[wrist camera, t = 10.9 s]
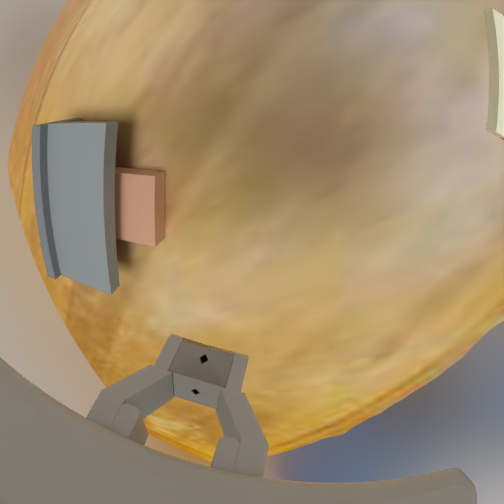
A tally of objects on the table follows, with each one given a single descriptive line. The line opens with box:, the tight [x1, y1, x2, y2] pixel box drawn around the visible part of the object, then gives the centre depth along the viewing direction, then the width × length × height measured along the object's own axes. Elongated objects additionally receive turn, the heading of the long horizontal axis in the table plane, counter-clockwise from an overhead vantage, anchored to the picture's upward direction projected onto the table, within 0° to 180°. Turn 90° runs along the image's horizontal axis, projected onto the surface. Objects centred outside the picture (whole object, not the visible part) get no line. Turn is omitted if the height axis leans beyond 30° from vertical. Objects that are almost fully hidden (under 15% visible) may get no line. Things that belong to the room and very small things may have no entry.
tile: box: [115, 167, 165, 247], centre depth 36 cm, size 10×14×4 cm
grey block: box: [32, 118, 120, 295], centre depth 34 cm, size 24×13×9 cm, turn 169°
